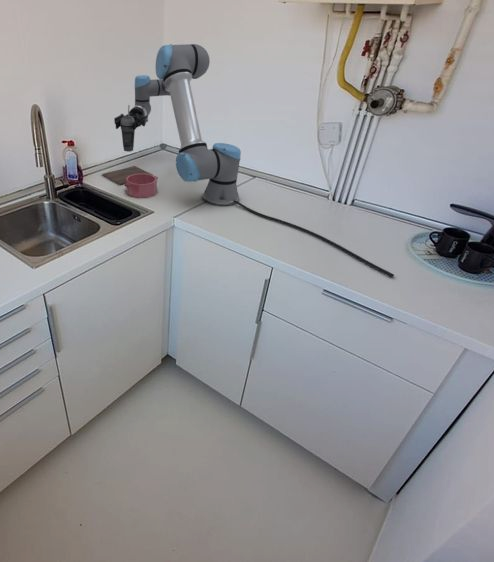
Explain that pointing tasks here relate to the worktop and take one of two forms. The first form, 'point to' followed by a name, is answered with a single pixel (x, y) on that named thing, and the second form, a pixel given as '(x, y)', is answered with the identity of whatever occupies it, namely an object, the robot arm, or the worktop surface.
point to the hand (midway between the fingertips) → (125, 126)
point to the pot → (141, 185)
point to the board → (123, 174)
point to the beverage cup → (127, 132)
